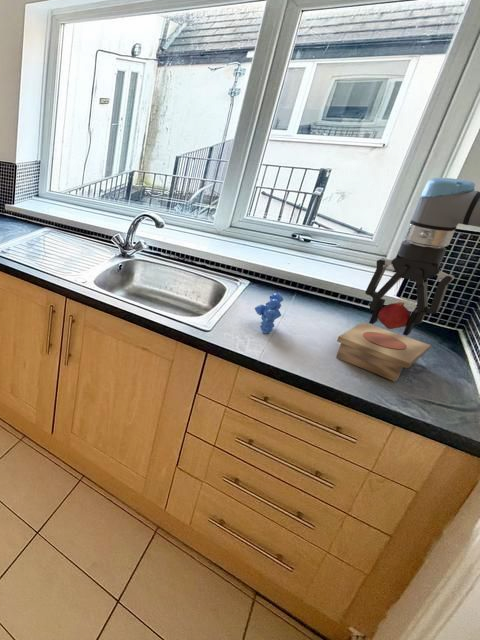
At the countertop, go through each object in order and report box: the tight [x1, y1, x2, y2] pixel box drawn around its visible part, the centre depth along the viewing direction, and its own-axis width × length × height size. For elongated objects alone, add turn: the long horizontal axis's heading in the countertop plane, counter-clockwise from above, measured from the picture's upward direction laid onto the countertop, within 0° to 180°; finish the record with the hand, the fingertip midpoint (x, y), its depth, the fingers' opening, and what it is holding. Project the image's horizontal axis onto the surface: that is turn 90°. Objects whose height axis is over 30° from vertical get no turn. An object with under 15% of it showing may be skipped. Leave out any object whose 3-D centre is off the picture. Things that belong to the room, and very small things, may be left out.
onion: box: [378, 301, 411, 330], centre depth 107 cm, size 6×6×8 cm
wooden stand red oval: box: [335, 321, 432, 382], centre depth 111 cm, size 14×16×6 cm
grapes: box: [254, 292, 284, 334], centre depth 124 cm, size 12×7×12 cm, turn 140°
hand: (389, 327), depth 109 cm, fingers closed on onion, 6 cm apart
